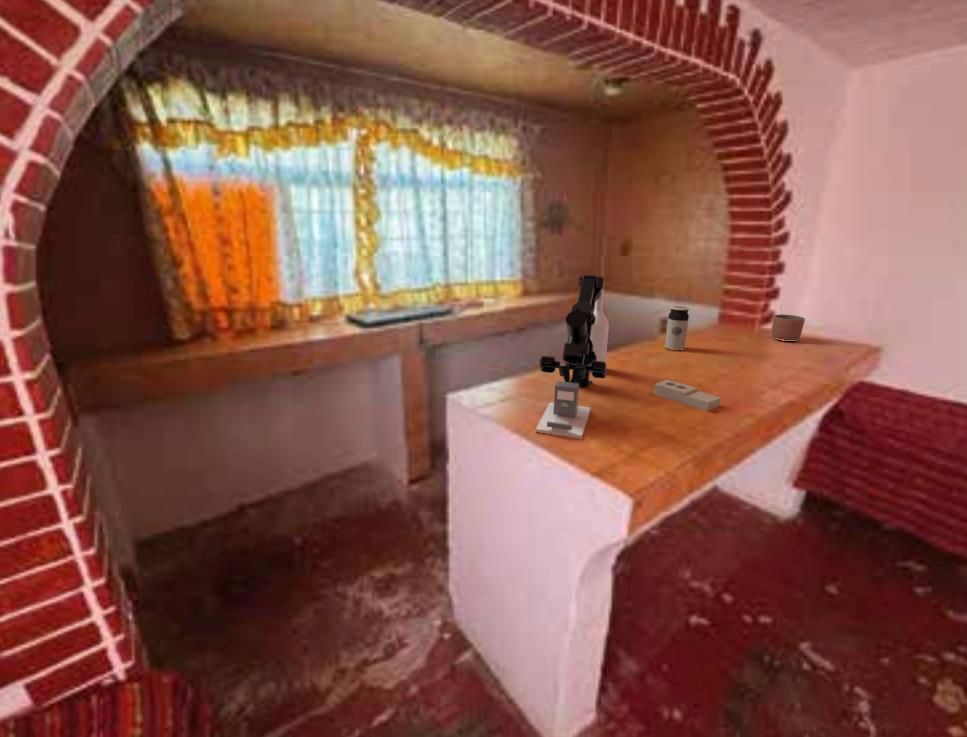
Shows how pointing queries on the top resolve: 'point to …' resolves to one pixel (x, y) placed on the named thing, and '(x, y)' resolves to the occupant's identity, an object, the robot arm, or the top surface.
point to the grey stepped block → (686, 395)
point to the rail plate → (564, 423)
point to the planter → (787, 327)
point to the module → (566, 399)
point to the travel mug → (677, 328)
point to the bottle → (600, 331)
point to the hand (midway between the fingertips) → (568, 393)
